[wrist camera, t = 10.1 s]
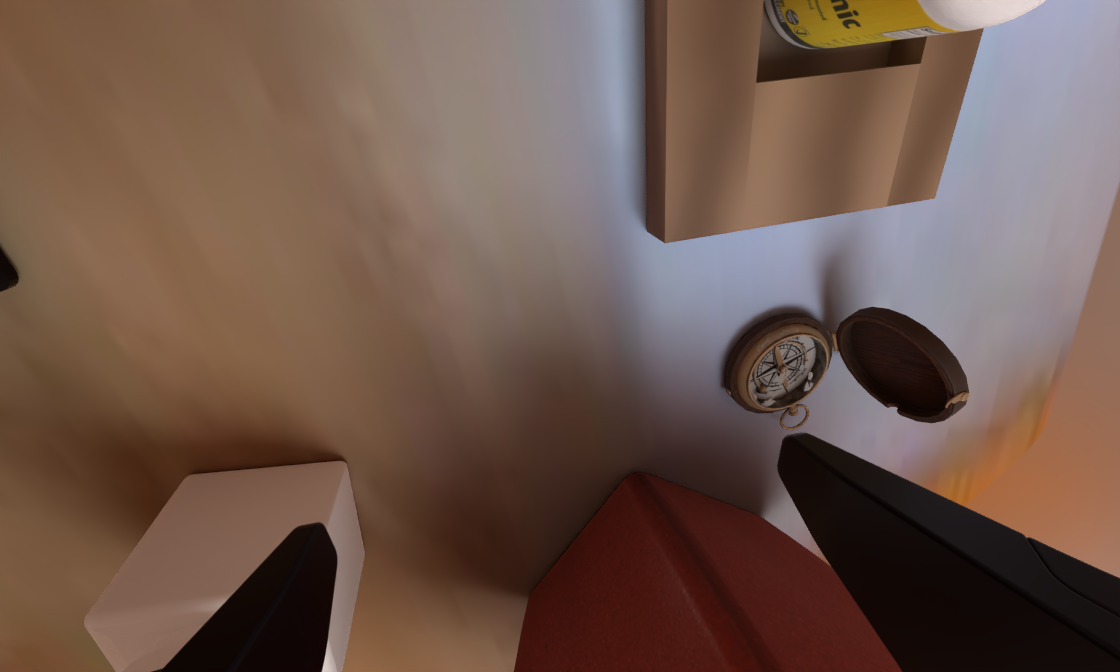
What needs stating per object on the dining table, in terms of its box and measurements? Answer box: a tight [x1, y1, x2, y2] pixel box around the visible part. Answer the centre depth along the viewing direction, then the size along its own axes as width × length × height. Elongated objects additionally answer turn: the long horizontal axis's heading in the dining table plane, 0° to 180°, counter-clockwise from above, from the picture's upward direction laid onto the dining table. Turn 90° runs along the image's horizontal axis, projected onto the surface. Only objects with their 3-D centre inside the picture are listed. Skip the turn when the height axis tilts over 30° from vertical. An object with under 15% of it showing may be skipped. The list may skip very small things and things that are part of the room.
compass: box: [725, 307, 969, 430], centre depth 23 cm, size 8×8×7 cm
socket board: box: [645, 0, 984, 243], centre depth 17 cm, size 13×15×2 cm
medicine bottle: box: [84, 461, 365, 672], centre depth 18 cm, size 7×7×12 cm
